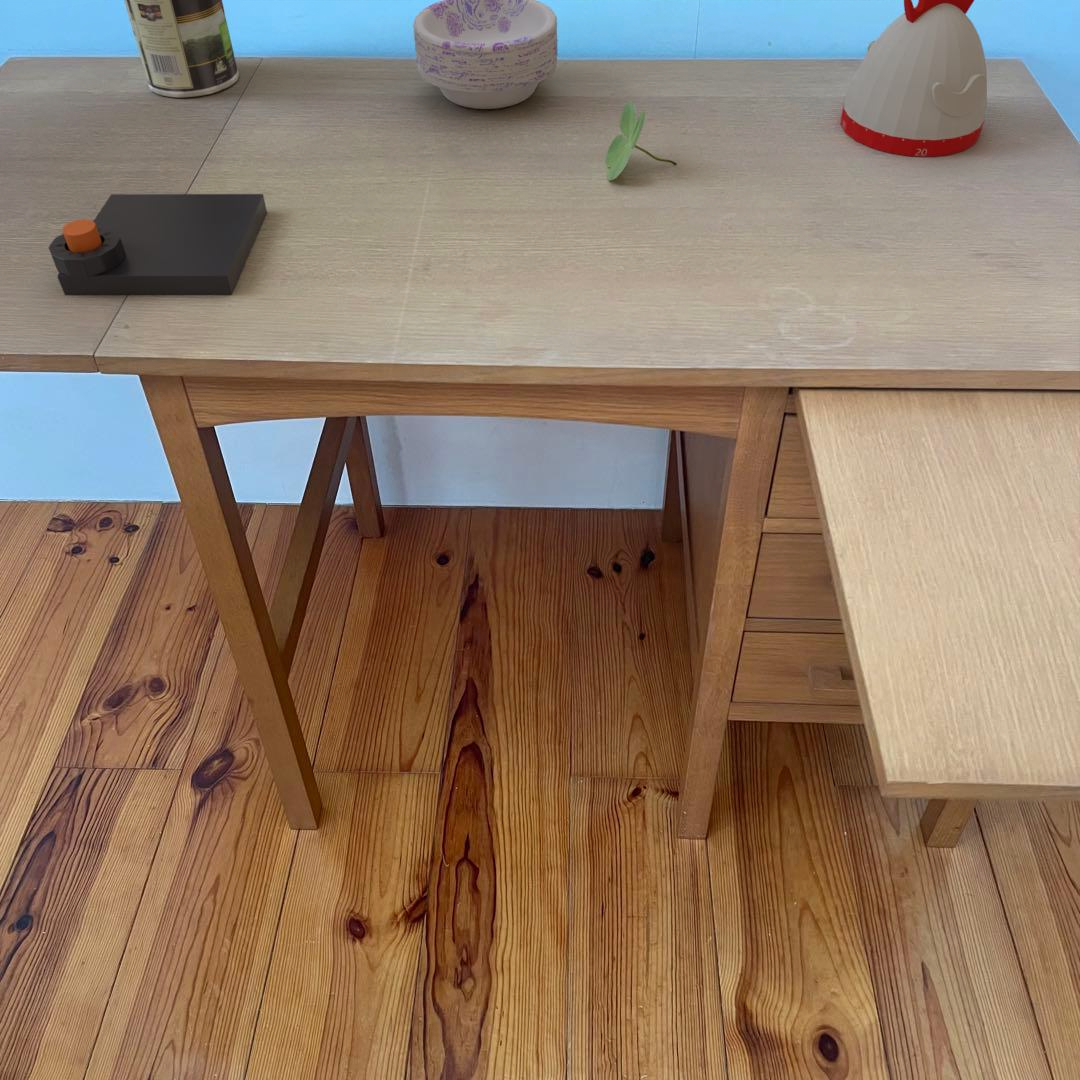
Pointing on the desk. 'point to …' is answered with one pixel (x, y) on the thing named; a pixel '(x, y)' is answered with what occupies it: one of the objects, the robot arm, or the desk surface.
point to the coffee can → (183, 46)
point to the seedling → (626, 141)
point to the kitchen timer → (920, 84)
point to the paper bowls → (486, 49)
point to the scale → (164, 245)
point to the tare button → (81, 236)
